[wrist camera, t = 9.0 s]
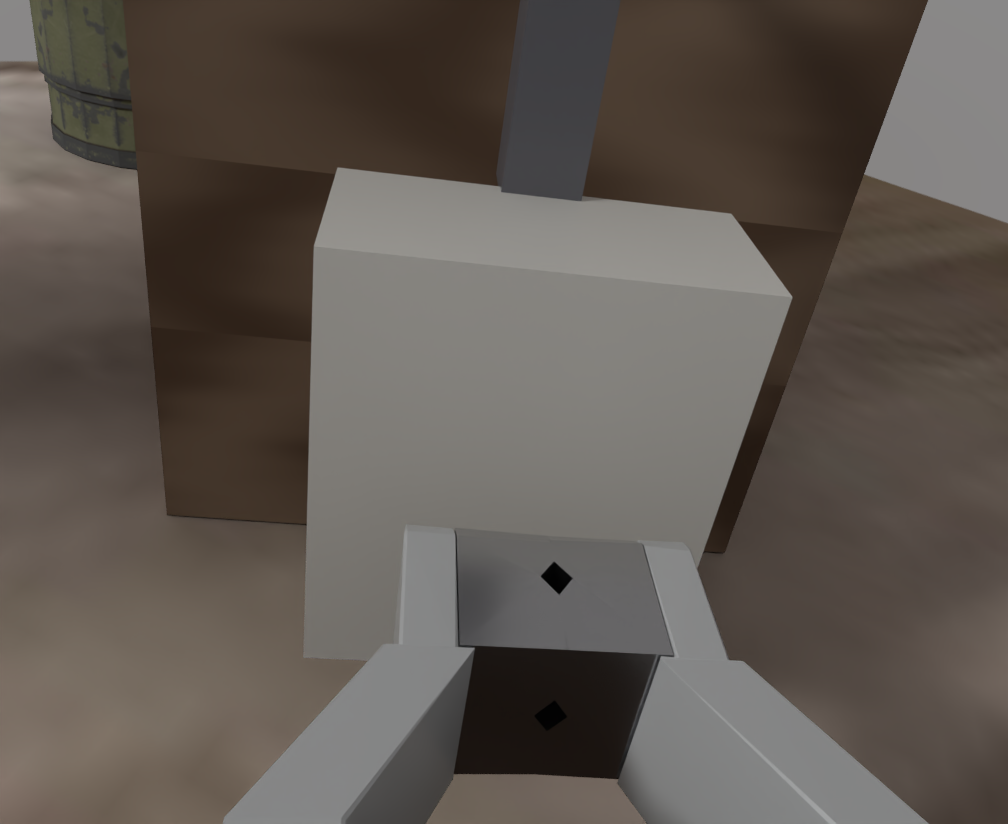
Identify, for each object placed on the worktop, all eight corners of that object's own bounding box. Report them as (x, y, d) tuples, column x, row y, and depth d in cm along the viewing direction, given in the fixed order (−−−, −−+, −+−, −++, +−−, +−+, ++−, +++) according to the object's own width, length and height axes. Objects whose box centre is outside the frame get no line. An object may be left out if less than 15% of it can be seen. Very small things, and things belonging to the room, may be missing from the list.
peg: (303, 657, 12) (328, -346, 6) (376, 217, 25) (405, -236, 20) (659, 675, 13) (974, -224, 7) (548, 236, 26) (626, -197, 20)
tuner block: (167, 514, 18) (105, -199, 12) (264, 269, 28) (260, -192, 22) (724, 552, 20) (950, -62, 13) (630, 307, 30) (732, -113, 23)
